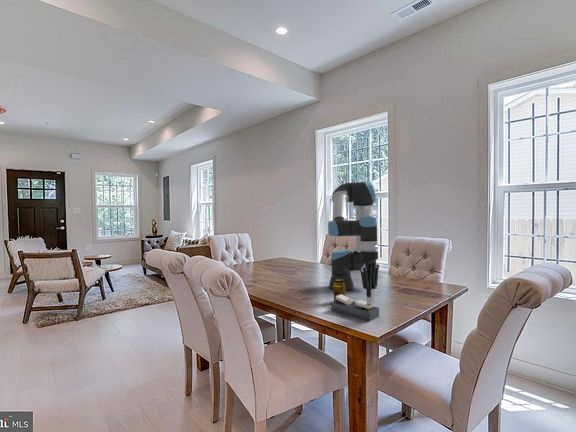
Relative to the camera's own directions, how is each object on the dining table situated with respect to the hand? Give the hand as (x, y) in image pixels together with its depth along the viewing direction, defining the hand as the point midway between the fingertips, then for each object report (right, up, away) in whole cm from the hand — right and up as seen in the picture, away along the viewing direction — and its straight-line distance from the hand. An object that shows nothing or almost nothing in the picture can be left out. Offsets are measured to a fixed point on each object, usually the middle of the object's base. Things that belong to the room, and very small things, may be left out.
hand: (370, 303), depth 135 cm
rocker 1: (-10, -1, +11) cm, 15 cm away
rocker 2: (-2, -1, +3) cm, 4 cm away
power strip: (-7, -7, +8) cm, 13 cm away
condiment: (-9, -7, +25) cm, 27 cm away
